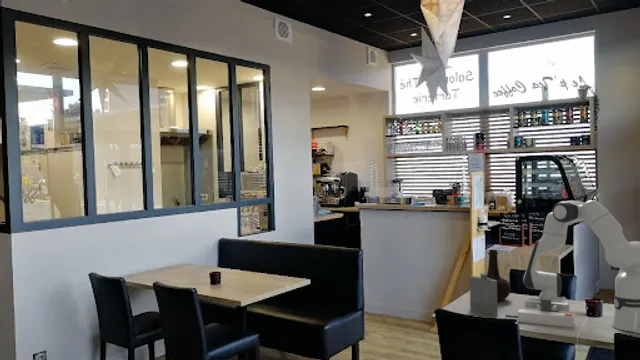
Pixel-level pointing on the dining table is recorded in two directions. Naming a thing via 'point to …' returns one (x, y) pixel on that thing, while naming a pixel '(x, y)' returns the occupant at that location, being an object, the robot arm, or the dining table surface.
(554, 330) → the dining table surface
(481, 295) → the hip flask
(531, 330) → the dining table surface
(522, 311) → the power strip
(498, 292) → the glass bottle
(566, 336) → the dining table surface
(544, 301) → the charger
